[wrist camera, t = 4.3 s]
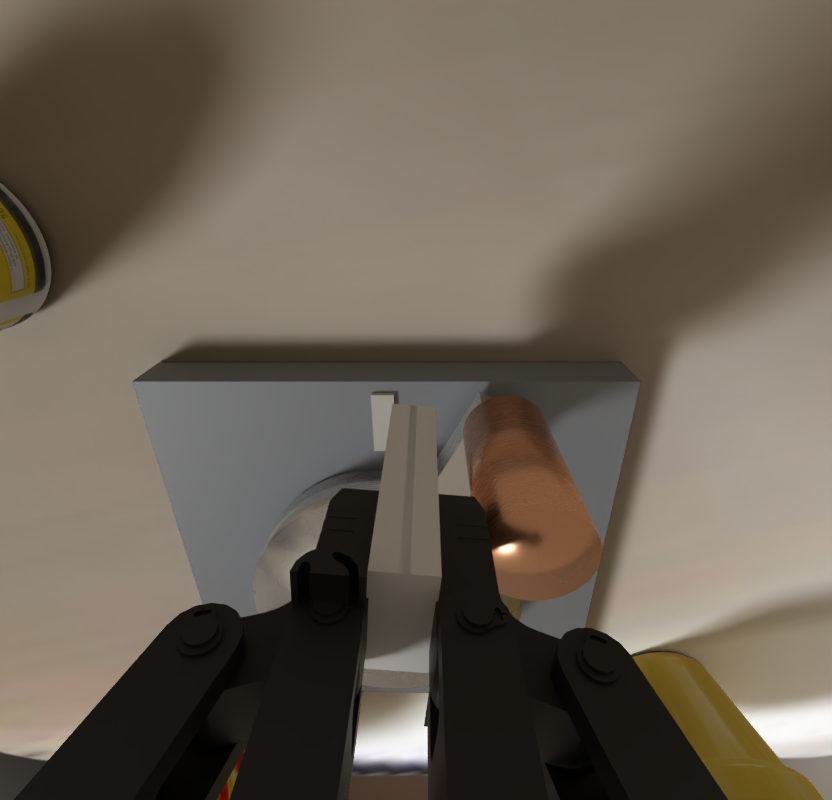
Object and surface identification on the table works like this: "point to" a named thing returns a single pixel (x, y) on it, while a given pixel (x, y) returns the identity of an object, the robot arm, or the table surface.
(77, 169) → the table surface
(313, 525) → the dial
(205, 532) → the base plate
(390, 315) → the table surface
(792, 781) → the plant pot
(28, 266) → the pill bottle
